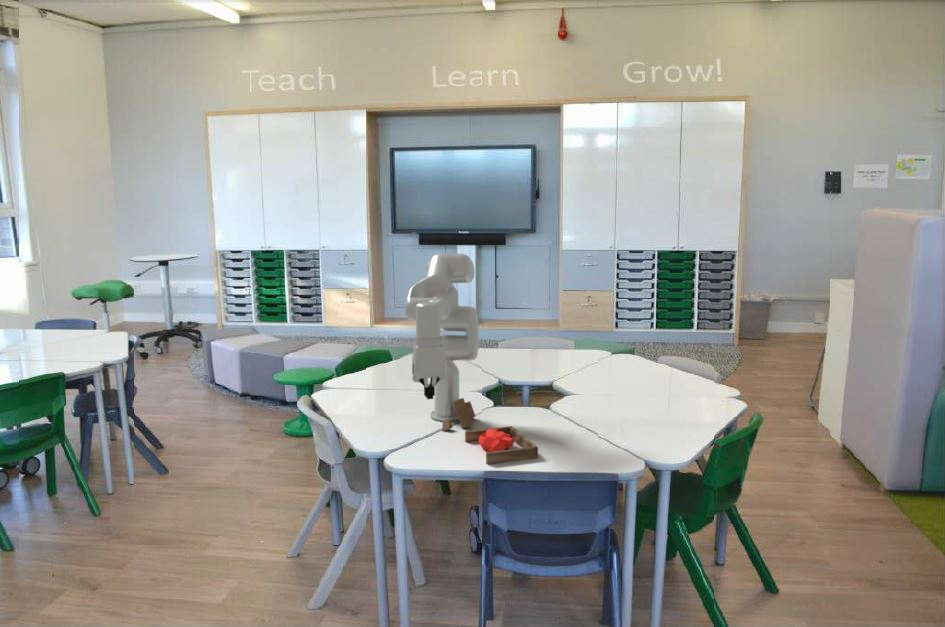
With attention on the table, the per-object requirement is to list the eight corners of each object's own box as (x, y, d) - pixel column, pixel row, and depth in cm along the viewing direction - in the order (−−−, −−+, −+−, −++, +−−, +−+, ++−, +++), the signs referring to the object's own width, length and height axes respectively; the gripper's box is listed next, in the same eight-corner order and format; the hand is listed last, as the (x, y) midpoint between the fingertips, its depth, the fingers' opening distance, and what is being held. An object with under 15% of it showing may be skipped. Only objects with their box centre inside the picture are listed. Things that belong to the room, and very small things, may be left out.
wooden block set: (466, 423, 265) (457, 398, 266) (485, 417, 261) (476, 391, 262) (443, 436, 249) (434, 408, 250) (463, 429, 245) (453, 402, 246)
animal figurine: (485, 460, 223) (485, 445, 222) (475, 443, 238) (475, 429, 237) (520, 456, 225) (520, 442, 224) (508, 440, 240) (508, 426, 239)
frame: (465, 441, 239) (465, 431, 238) (511, 435, 244) (511, 426, 244) (487, 464, 218) (487, 453, 218) (537, 457, 224) (537, 447, 223)
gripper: (447, 337, 223) (448, 392, 227) (402, 340, 219) (403, 397, 222) (455, 342, 216) (455, 399, 220) (408, 346, 212) (409, 404, 215)
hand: (429, 397), depth 221 cm, fingers closed
